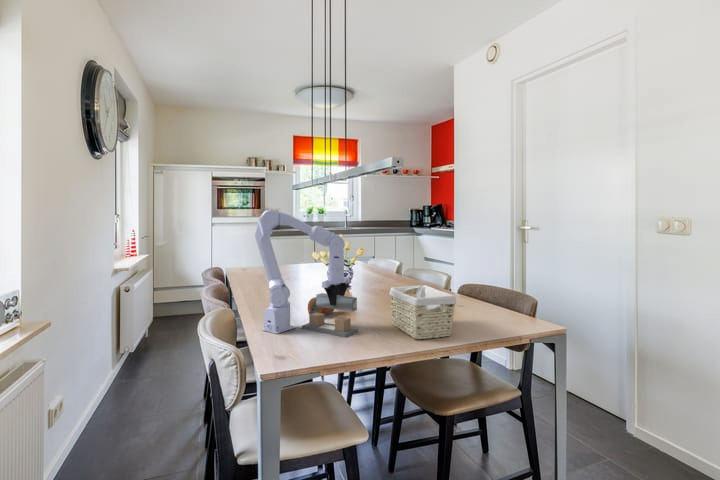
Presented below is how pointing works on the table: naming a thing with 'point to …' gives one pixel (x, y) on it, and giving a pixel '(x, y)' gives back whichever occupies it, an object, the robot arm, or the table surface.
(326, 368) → the table surface
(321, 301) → the beam
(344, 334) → the gate base
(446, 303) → the storage basket
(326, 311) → the tin
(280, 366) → the table surface
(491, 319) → the table surface
